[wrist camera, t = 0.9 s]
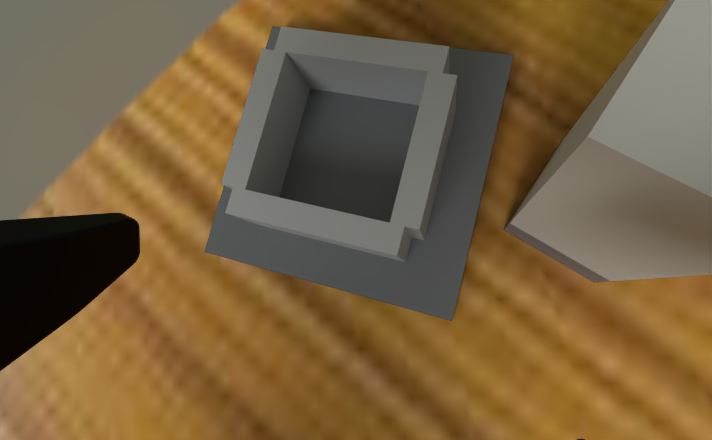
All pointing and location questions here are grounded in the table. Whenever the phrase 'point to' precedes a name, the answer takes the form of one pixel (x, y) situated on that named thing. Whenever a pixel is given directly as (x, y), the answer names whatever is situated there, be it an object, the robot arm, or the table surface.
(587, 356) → the table surface
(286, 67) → the socket
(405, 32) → the table surface
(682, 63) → the plug
